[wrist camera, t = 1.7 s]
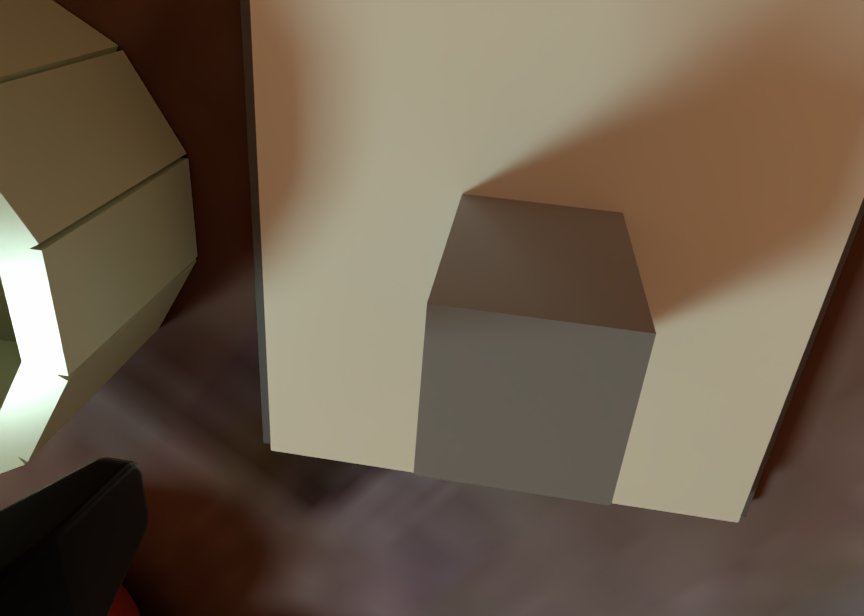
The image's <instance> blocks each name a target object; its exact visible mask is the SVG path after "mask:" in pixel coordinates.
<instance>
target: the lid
mask: <svg viewBox="0 0 864 616" xmlns="http://www.w3.org/2000/svg"><path fill="white" fill-rule="evenodd" d="M250 15H251V36H252V57H253V78H254V100H255V121H256V142H257V163H258V185H259V206H260V227H261V248H262V270H263V291H264V312H265V333H266V355H267V376H268V397H269V418H270V440H271V450H272V451H278V452H285V453H291V454H298V455H304V456H311V457H317V458H324V459H330V460H337V461H343V462H350V463H356V464H362V465H369V466H375V467H382V468H388V469H395V470H401V471H408V472H414V473H413V475H416V476H422V477H429V478H435V479H441V480H448V481H454V482H461V483H467V484H474V485H480V486H487V487H493V488H499V489H506V490H512V491H519V492H525V493H532V494H538V495H545V496H551V497H557V498H564V499H570V500H577V501H583V502H590V503H596V504H602V505H609V506H611V503H614V504H621V505H627V506H634V507H640V508H646V509H653V510H659V511H666V512H672V513H679V514H685V515H692V516H698V517H705V518H711V519H718V520H724V521H730V522H737V523H738V521H739V519H740V516H741V514H742V511H743V509H744V506H745V503H746V501H747V498H748V496H749V493H750V490H751V488H752V485H753V483H754V480H755V477H756V475H757V472H758V470H759V467H760V465H761V462H762V459H763V457H764V454H765V452H766V449H767V446H768V444H769V441H770V439H771V436H772V433H773V431H774V428H775V426H776V423H777V421H778V418H779V415H780V413H781V410H782V408H783V405H784V402H785V400H786V397H787V395H788V392H789V390H790V387H791V384H792V382H793V379H794V377H795V374H796V371H797V369H798V366H799V364H800V361H801V358H802V356H803V353H804V351H805V348H806V346H807V343H808V340H809V338H810V335H811V333H812V330H813V327H814V325H815V322H816V320H817V317H818V315H819V312H820V309H821V307H822V304H823V302H824V299H825V296H826V294H827V291H828V289H829V286H830V283H831V281H832V278H833V276H834V273H835V271H836V268H837V265H838V263H839V260H840V258H841V255H842V252H843V250H844V247H845V245H846V242H847V240H848V237H849V234H850V232H851V229H852V227H853V224H854V221H855V219H856V216H857V214H858V211H859V208H860V206H861V203H862V201H863V198H864V0H250Z"/></svg>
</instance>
